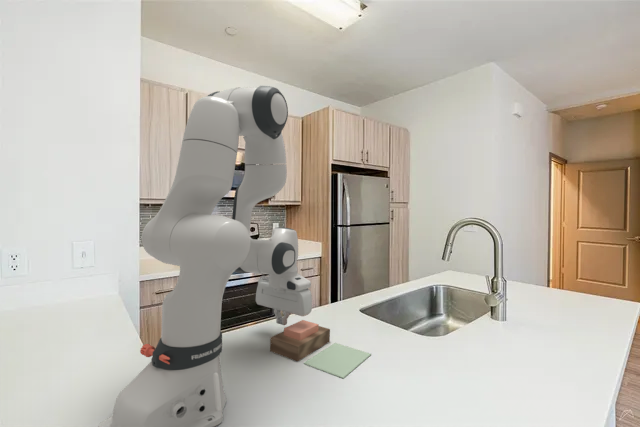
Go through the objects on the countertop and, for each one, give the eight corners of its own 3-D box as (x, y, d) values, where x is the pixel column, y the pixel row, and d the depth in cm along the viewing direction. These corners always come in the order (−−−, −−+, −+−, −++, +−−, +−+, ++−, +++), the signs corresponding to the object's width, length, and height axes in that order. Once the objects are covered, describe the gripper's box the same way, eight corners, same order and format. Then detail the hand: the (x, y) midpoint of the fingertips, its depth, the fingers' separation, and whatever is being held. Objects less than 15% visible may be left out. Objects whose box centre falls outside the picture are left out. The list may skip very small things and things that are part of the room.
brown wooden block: (297, 361, 83) (298, 346, 83) (269, 351, 89) (270, 337, 89) (329, 341, 97) (330, 329, 97) (303, 333, 102) (304, 321, 102)
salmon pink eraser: (300, 340, 87) (300, 333, 87) (283, 335, 91) (284, 328, 91) (318, 330, 95) (318, 324, 95) (302, 326, 98) (302, 319, 98)
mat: (343, 378, 76) (343, 377, 76) (303, 363, 82) (303, 362, 82) (371, 354, 89) (371, 353, 89) (335, 343, 96) (335, 342, 96)
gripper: (251, 276, 100) (250, 319, 100) (302, 286, 89) (301, 335, 89) (265, 273, 105) (264, 314, 105) (315, 282, 94) (313, 328, 94)
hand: (281, 323), depth 97 cm, fingers closed
